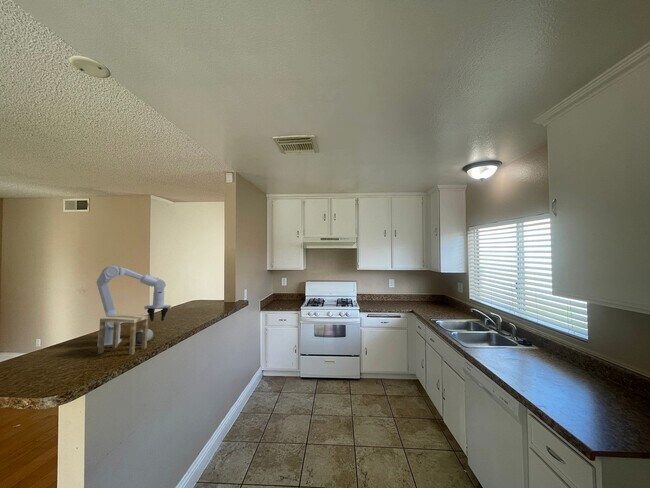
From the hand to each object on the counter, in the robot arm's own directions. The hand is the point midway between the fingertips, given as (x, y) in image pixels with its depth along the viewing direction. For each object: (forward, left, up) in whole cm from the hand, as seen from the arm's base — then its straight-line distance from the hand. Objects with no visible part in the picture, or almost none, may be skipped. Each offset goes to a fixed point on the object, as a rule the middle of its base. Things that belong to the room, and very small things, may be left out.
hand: (157, 320), depth 159 cm
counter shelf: (-13, -21, -9) cm, 27 cm away
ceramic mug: (-7, -11, -10) cm, 16 cm away
